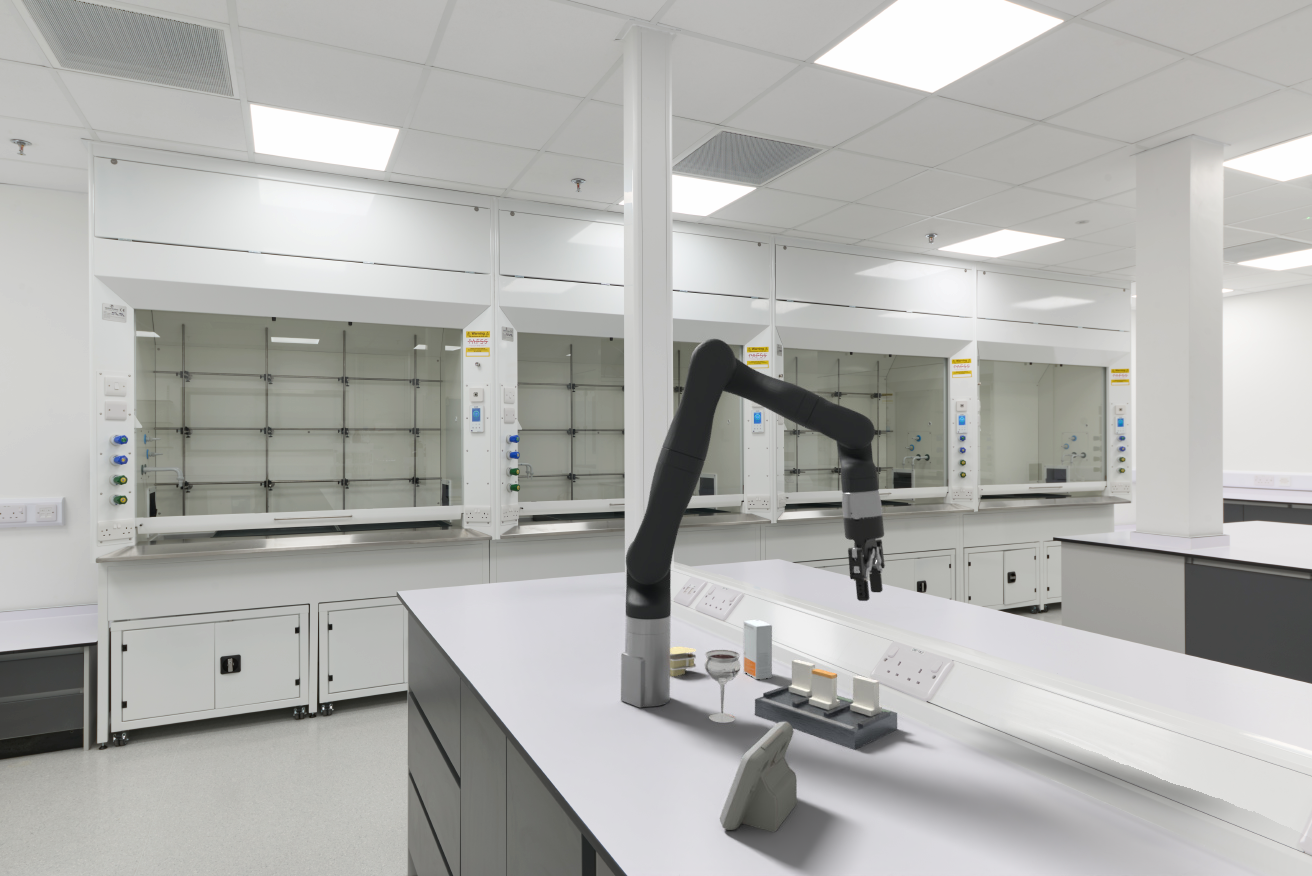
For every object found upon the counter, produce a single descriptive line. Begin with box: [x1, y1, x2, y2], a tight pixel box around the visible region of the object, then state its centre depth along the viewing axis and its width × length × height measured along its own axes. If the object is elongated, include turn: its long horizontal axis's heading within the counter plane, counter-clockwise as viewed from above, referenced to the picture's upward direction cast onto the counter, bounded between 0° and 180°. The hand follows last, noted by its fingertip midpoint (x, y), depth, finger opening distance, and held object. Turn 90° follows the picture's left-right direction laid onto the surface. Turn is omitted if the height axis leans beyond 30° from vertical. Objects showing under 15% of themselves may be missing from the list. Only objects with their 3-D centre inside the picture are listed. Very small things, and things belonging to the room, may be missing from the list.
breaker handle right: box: [850, 675, 883, 716], centre depth 133 cm, size 4×4×6 cm
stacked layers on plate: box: [670, 646, 697, 678], centre depth 166 cm, size 10×9×6 cm
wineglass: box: [704, 649, 741, 724], centre depth 138 cm, size 7×7×12 cm
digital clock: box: [719, 722, 798, 833], centre depth 101 cm, size 16×9×11 cm, turn 139°
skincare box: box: [742, 619, 773, 680], centre depth 165 cm, size 6×4×12 cm
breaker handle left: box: [789, 659, 816, 697], centre depth 143 cm, size 4×4×6 cm
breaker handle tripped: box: [809, 668, 840, 710], centre depth 136 cm, size 4×4×6 cm
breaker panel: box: [754, 683, 898, 750], centre depth 136 cm, size 14×22×4 cm, turn 42°
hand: (870, 596), depth 143 cm, fingers open, 8 cm apart
